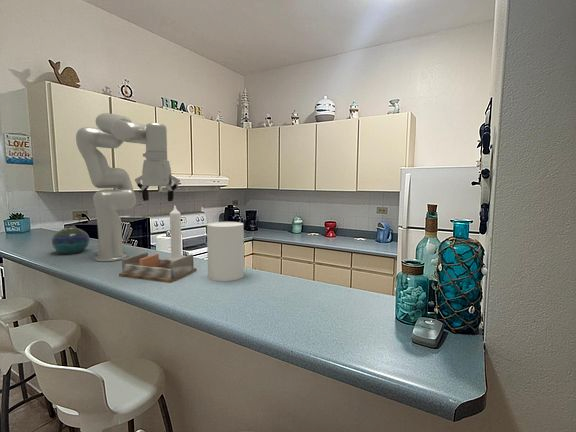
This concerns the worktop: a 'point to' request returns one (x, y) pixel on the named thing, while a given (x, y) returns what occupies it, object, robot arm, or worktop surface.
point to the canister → (225, 250)
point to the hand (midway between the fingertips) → (158, 200)
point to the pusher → (150, 261)
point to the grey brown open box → (157, 268)
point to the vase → (70, 240)
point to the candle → (175, 234)
